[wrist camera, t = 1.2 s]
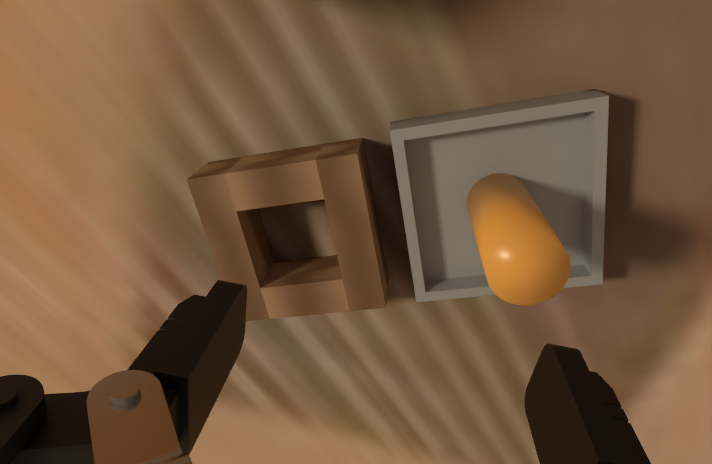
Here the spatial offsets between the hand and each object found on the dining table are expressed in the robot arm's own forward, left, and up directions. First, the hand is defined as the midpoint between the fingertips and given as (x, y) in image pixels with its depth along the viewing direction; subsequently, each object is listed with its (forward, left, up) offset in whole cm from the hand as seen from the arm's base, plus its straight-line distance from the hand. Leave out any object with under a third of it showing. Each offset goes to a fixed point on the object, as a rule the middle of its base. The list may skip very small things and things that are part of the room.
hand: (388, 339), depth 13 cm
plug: (-6, +6, -23) cm, 24 cm away
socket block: (+9, +6, -24) cm, 26 cm away
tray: (-6, +6, -24) cm, 25 cm away
